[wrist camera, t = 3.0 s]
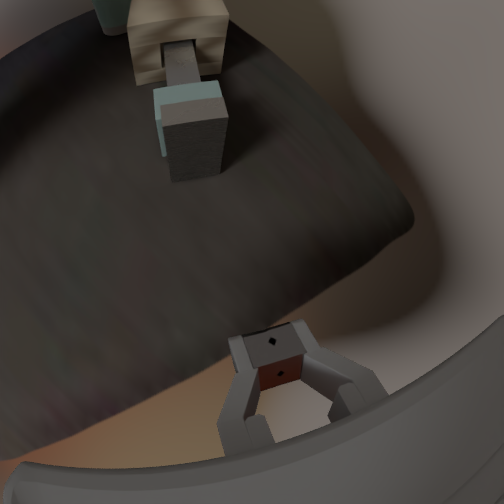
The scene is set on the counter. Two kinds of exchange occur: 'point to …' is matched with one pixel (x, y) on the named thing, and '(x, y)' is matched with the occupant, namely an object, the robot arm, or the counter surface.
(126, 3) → the coffee cup
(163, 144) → the pale teal block
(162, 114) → the grey elongated piece
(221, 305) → the counter surface
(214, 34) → the block
